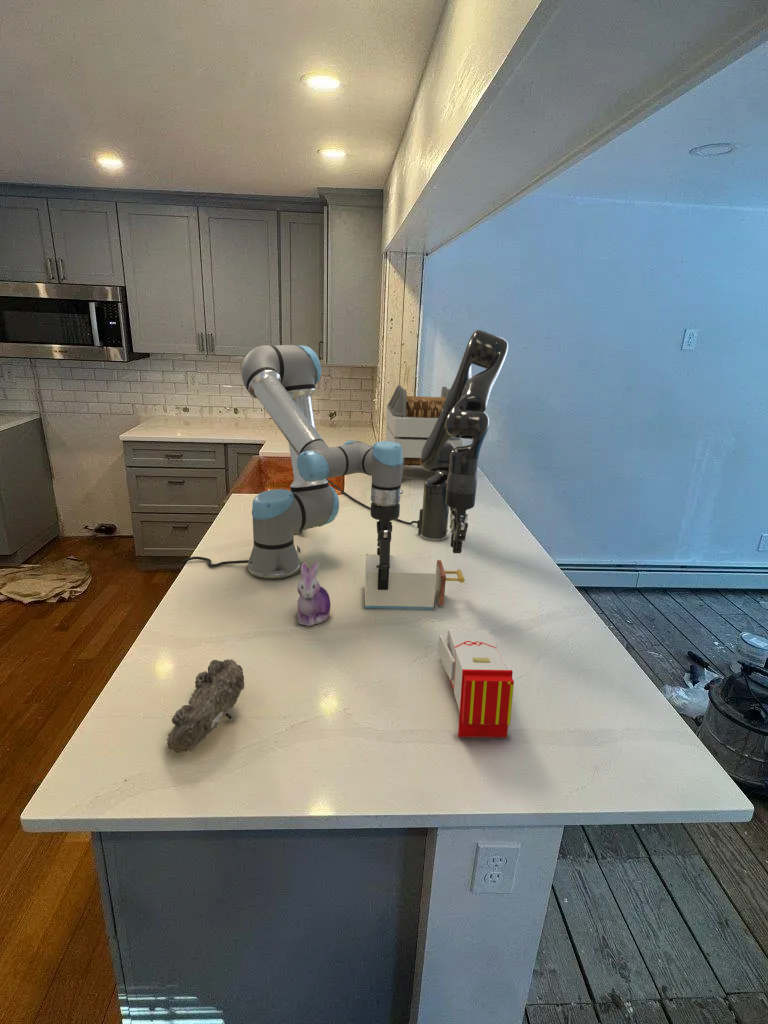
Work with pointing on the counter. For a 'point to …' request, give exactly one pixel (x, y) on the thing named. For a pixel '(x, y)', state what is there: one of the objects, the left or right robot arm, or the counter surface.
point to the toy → (478, 682)
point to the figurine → (312, 597)
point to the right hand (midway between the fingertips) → (455, 549)
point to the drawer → (444, 580)
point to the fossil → (206, 705)
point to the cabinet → (401, 583)
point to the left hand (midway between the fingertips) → (382, 579)
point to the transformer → (414, 423)
